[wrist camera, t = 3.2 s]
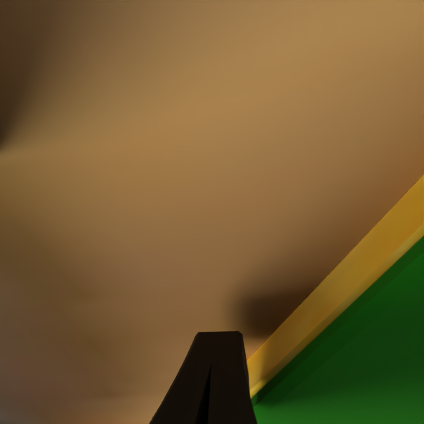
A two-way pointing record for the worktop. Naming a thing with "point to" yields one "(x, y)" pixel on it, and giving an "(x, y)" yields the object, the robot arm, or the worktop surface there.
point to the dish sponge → (354, 335)
